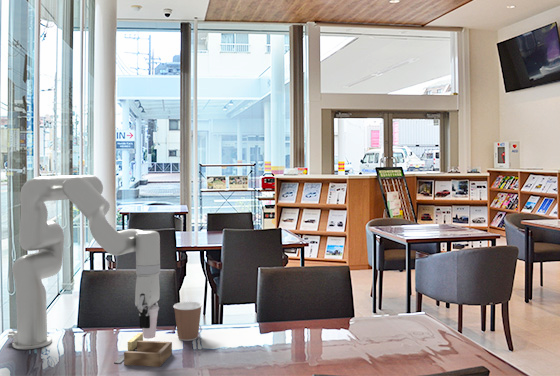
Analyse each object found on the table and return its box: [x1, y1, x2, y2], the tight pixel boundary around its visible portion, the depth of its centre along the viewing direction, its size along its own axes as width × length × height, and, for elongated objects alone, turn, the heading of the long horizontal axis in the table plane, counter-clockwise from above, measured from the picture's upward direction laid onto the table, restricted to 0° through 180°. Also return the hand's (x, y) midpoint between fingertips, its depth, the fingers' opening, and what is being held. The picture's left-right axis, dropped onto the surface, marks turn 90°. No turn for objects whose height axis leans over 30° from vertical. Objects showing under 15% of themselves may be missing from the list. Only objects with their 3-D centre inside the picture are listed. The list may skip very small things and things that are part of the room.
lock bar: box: [127, 332, 144, 351], centre depth 185 cm, size 2×10×3 cm, turn 173°
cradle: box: [113, 340, 173, 368], centre depth 179 cm, size 15×20×4 cm
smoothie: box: [141, 304, 160, 340], centre depth 174 cm, size 6×6×14 cm
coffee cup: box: [172, 301, 203, 342], centre depth 196 cm, size 10×10×12 cm
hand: (149, 324), depth 174 cm, fingers closed on smoothie, 6 cm apart
